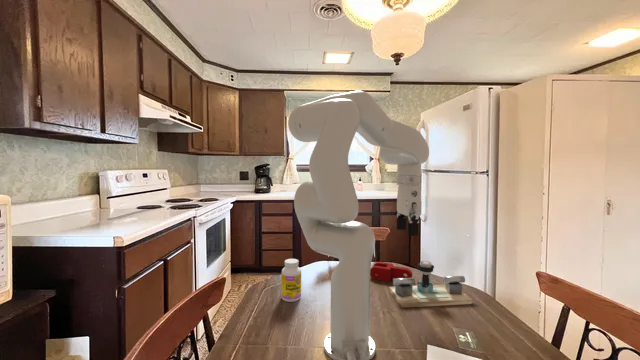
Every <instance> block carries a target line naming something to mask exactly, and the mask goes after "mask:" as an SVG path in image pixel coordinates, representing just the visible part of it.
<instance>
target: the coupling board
mask: <svg viewBox="0 0 640 360" xmlns="http://www.w3.org/2000/svg"><path fill="white" fill-rule="evenodd" d="M432 285H433V287H437V288H433V289H437V291H435V290H434V291H433V292H428V293H426V292H419V291H418V289H417V286H418V285H412V286H413V287H412V296H408V297H401V296H400V295H398V294H397V293H396V292H395V286H388V292H389V293H390V294H391V296H392V297H393V298H394V299H395V301H396V302H397V303H398V304H399V306H400V307H401V308H420V307H436V306H437V307H438V306H439V307H440V306H458V305H473V300H474V299H473V298H471V297H470V296H468V294H466V293H464V292H463V291H462V295H460V294H449V293H448V291H447V290H446V289H445V288H446V283H443V284H432Z"/></svg>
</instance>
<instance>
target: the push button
mask: <svg viewBox="0 0 640 360" xmlns="http://www.w3.org/2000/svg"><path fill="white" fill-rule="evenodd" d="M417 267H418V271H419V280H418V281H417V285H416V286H417V289H418V291H419V292H426V293H428V292H433V291H434V290H435V291H437V289H433V288H437V287H433V285H434V284H433V283H432V272H434V269H435V265H434V264H433V263H432V262H431V261H429V260H428V261H427V260H421V261H420V262H419V263H417Z"/></svg>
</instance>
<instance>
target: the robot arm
mask: <svg viewBox="0 0 640 360" xmlns="http://www.w3.org/2000/svg"><path fill="white" fill-rule="evenodd" d="M287 122H288V123H287V125H288V130H289V132H290V135H291V136H292V137H293V138H294V139H296V140H297V141H299V142H303V143H315V142H316V144H315V146H314V147H313V150H312V153H311V154H310V158H309V163H308V167H309V168H308V170H309V171H308V172H309V174H310V178H311V180H307V181H304V182H302V183H301V184H299V186H298V187H297V189H296V191H295V194H294V198H293V208H294V211H295V215H296V218H297V220H298V223H299V225H300V228H301V230H302V233H303V236H304V238H305V240H306V242H307V245H308V247H310V249H311V250H313V251H314V252H316V253H319V254H321V255H325V256H329V257H333V258H335V259H338V260H339V261H338V264H337V265H336V267H335V268H334V269H333V271H332V273H331V276H330V326H329V327H330V332H329V334H327V336H326V337H325V338H324V342H323V348H324V349H323V350H324V352H325V354H326V355H327V356H328V357H329V358H330V359H331V360H372V359H373V357H374V356H375V354H376V343H375V341H374V340H373V337H371V336H370V312H371V311H370V308H371V303H370V302H371V297H370V296H371V292H370V291H371V276H370V271H371V268H372V261H373V255H374V251H375V250H374V249H375V244H376V235H375V233H374V231H373V229H372V227H370V226H369V225H368V224H366V223H364V222H360V221H355V219H357V216H358V215H359V210H360V209H359V206H360V205H359V199H358V196H357V193H356V189H355V188H356V187H355V185H354V181H353V178H352V174H351V171H350V166H349V153H350V148H351V146H352V143H353V141H354V137H355V135H356V133H358V135H359V136H361V137H362V138H363V139H364V140H365V141H366V142H367V143H368V144H370V145H372V146H375V147H380V150H379V156H380V158H381V160H382V162H384V163H386V165H387V164H388V165H392V166H395V165H396V166H397V167H396V168H397V169H396V186H397V193H396V194H397V195H396V196H397V197H396V213H397V214H396V230H401V231H402V230H407V236H409V237H410V236H411V237H418V236H419V223H420V218H421V215H422V190H421V184H422V183H421V182H422V165H423V164H424V163H426V162H427V161H428V159H429V155H430V148H429V145H428V142H427V141H426V139H425V137H424V135H423V134H422V133H421V132H420V131H419V130H417V129H416V128H415V127H412V126H410V125H408V124H406V123H405V124H404V123H403V122H399V121H397V120H393V119H391V118H390V116H388V115H387V113H386V112H385V111H384V110H383V108H382V107H381V106H380V104H378V102H377V101H376V100H375V99H374V98H373V96H372V95H370V94H369V93H368V92H366V91H363V90H354V91H349V92H344V93H339V94H338V93H337V94H334V95H329V96H326V97H324V98H323V97H322V98H320V99H317V100H314V101H310V102H307V103H304V104H301V105H298V106H296V107H294V108H293V109H292V111H291V112H290V114H289V116H288V121H287ZM407 219H408V222H407Z"/></svg>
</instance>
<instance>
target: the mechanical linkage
mask: <svg viewBox="0 0 640 360" xmlns="http://www.w3.org/2000/svg"><path fill="white" fill-rule="evenodd" d="M370 278H371V279H373V280H378V281H383V282H384V281H385V282H390V281H393V279H396V278H413V272H412V270H411V269H410V268H408V267H403V266H398V265H394V264H393V263H390V262H384V261H383V262H382V261H377V262H375V263H374V264H373V266H371V271H370Z"/></svg>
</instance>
